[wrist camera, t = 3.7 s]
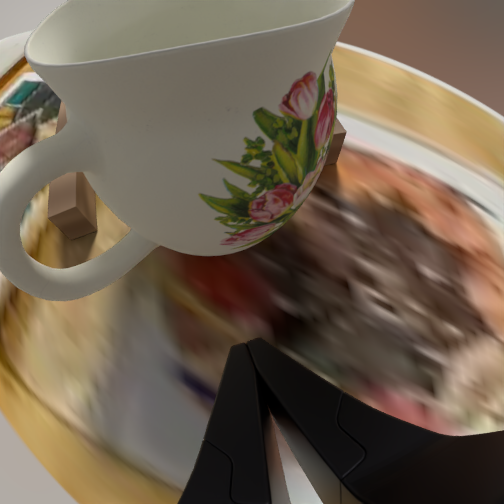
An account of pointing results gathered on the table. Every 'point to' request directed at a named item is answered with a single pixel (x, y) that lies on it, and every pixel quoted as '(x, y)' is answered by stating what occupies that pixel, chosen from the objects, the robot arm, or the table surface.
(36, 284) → the pitcher
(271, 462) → the robot arm
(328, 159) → the dock
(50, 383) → the table surface
